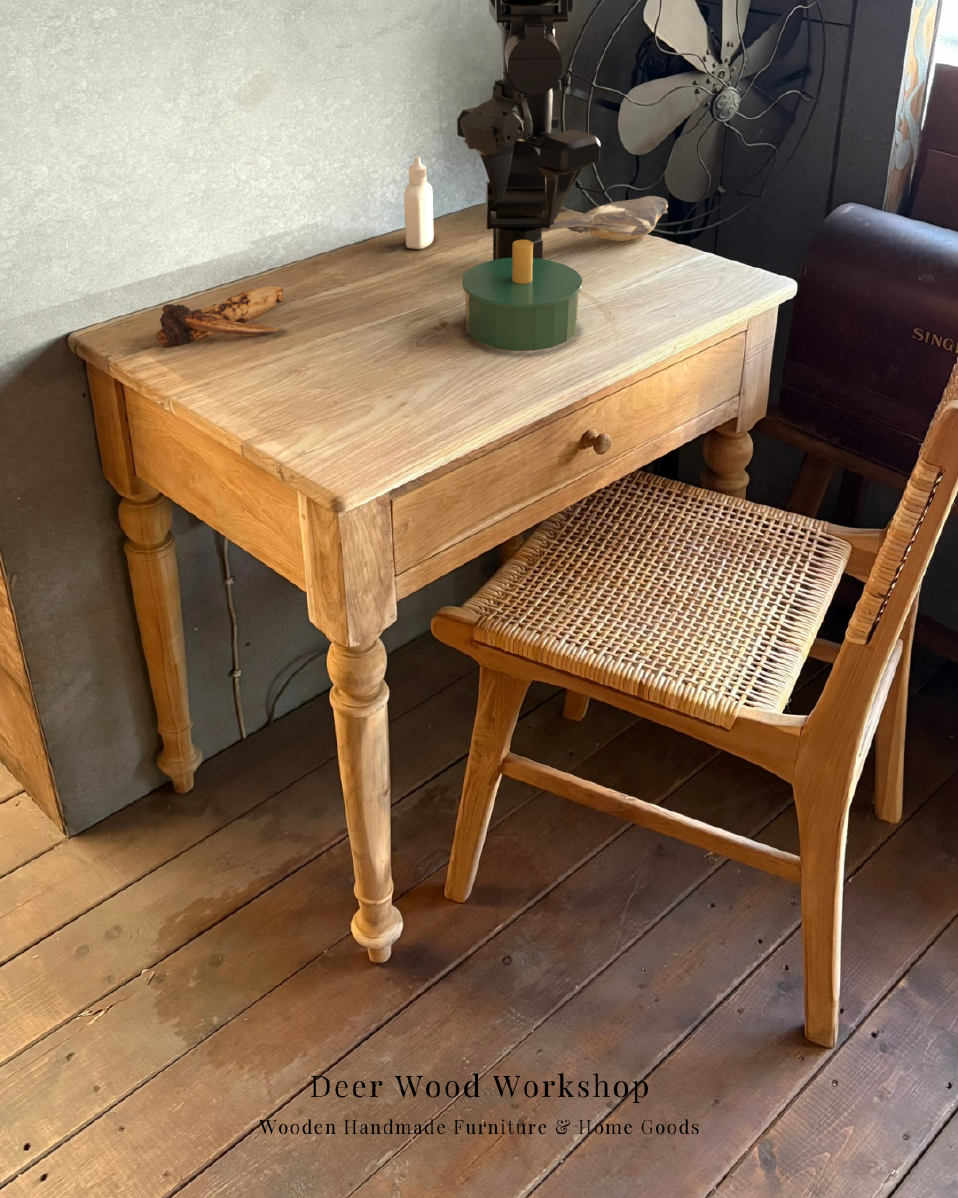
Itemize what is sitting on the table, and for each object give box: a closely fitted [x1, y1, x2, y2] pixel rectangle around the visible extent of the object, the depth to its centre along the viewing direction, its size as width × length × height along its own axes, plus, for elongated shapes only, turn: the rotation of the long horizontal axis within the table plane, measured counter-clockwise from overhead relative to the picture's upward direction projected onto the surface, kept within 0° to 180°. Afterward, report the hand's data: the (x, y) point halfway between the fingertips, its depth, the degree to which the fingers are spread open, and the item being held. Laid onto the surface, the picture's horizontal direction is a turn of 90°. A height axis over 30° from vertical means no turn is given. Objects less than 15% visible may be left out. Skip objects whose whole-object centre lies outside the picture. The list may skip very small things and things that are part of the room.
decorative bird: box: [542, 195, 669, 242], centre depth 167 cm, size 6×25×5 cm, turn 127°
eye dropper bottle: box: [403, 155, 435, 250], centre depth 166 cm, size 4×6×12 cm
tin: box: [465, 292, 579, 352], centre depth 144 cm, size 13×14×6 cm
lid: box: [461, 240, 584, 309], centre depth 141 cm, size 14×14×6 cm
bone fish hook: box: [155, 285, 285, 347], centre depth 144 cm, size 9×5×18 cm
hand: (525, 209), depth 143 cm, fingers open, 9 cm apart
